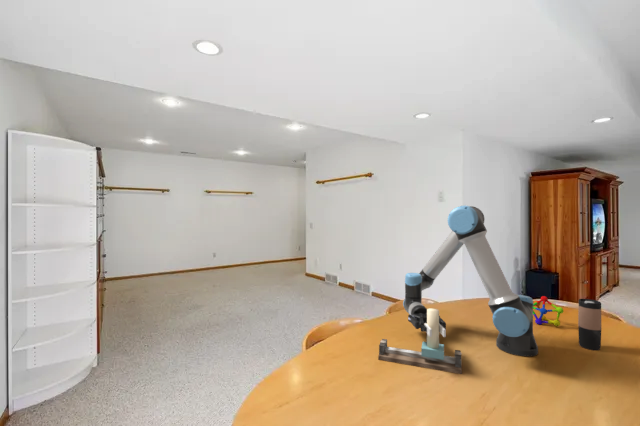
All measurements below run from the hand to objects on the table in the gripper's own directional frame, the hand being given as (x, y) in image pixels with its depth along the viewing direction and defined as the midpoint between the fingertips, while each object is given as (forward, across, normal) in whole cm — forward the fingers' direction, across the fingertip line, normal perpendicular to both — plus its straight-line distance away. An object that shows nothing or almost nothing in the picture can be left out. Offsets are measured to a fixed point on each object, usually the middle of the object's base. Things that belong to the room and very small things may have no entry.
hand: (437, 333), depth 116 cm
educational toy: (-50, -73, -14) cm, 89 cm away
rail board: (-7, +5, -14) cm, 16 cm away
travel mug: (-22, -73, -14) cm, 78 cm away
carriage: (-5, 0, -10) cm, 11 cm away
